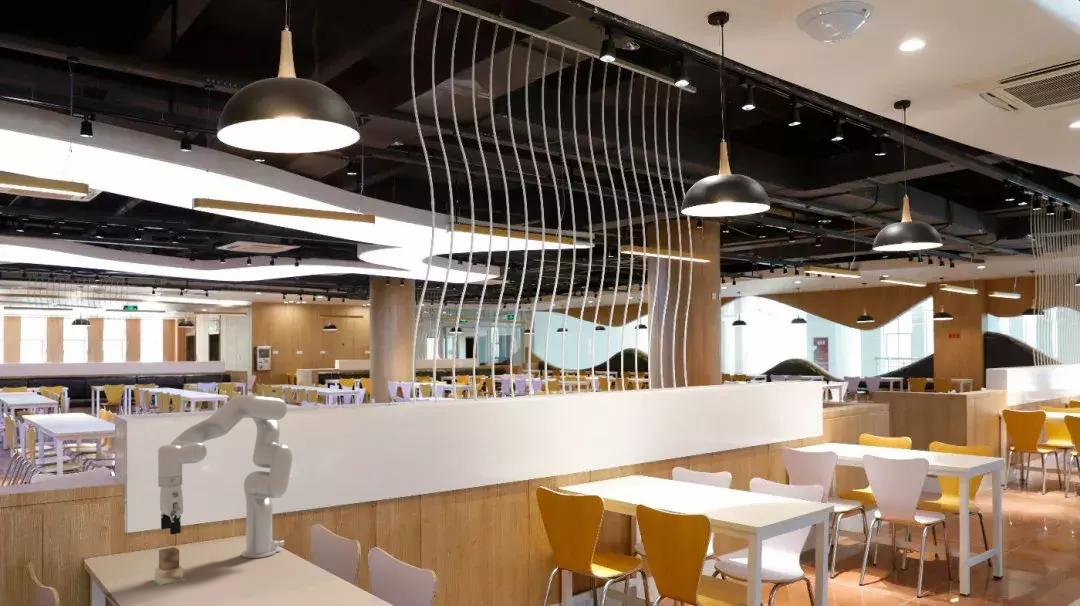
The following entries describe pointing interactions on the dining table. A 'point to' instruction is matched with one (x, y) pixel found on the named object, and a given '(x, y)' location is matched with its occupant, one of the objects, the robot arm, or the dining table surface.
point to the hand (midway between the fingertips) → (170, 531)
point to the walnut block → (169, 558)
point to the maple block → (168, 575)
